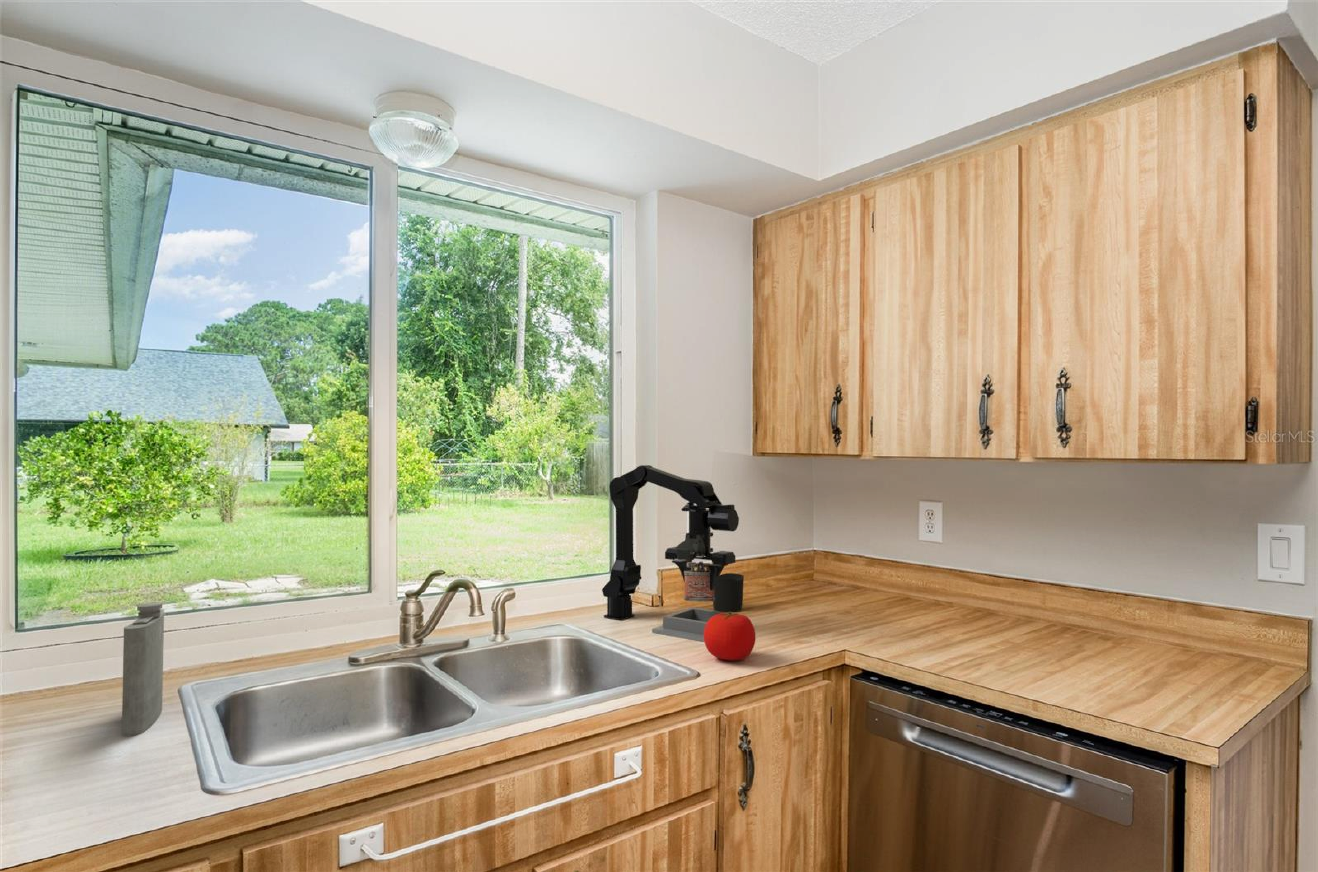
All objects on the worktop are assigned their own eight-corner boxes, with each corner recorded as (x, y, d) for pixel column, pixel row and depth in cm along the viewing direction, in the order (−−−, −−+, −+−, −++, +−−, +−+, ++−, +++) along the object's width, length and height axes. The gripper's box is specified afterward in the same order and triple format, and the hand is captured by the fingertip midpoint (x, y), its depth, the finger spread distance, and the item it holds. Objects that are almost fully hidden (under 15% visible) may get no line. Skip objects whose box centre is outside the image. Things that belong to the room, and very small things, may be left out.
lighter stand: (652, 632, 185) (652, 617, 185) (689, 619, 200) (689, 605, 200) (712, 643, 175) (712, 626, 175) (746, 628, 190) (746, 613, 190)
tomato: (761, 654, 165) (761, 608, 165) (745, 669, 154) (745, 620, 154) (715, 649, 170) (715, 604, 170) (696, 662, 159) (696, 615, 159)
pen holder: (745, 612, 209) (745, 578, 209) (713, 612, 209) (713, 578, 209) (741, 605, 218) (741, 573, 218) (711, 605, 218) (711, 572, 218)
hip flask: (143, 706, 131) (145, 596, 131) (169, 702, 132) (171, 594, 133) (119, 737, 116) (121, 613, 117) (149, 733, 118) (151, 611, 119)
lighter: (714, 599, 189) (714, 561, 189) (714, 601, 185) (714, 563, 186) (684, 598, 190) (684, 560, 190) (683, 601, 186) (683, 562, 186)
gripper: (652, 529, 187) (652, 589, 186) (714, 534, 176) (714, 597, 176) (676, 525, 196) (676, 583, 196) (736, 530, 185) (736, 590, 185)
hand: (699, 588), depth 188 cm, fingers closed on lighter, 7 cm apart
